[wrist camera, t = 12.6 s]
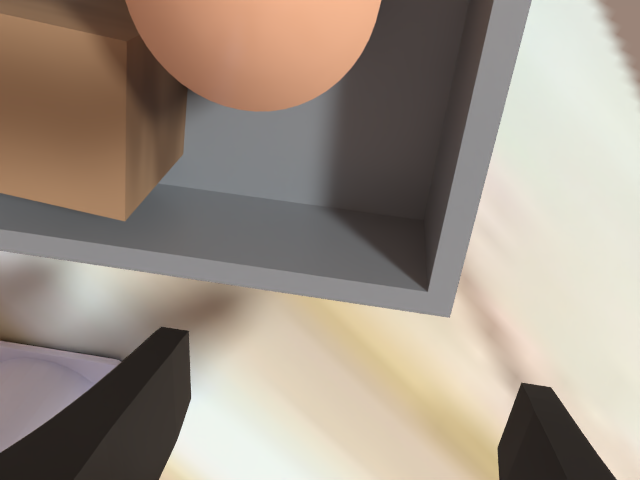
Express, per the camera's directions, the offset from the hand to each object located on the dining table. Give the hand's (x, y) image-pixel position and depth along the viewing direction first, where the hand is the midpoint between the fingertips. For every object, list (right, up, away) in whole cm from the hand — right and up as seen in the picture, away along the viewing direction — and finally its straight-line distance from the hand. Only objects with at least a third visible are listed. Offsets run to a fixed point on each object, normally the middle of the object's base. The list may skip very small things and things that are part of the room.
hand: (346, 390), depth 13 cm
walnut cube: (-7, +9, +7) cm, 13 cm away
